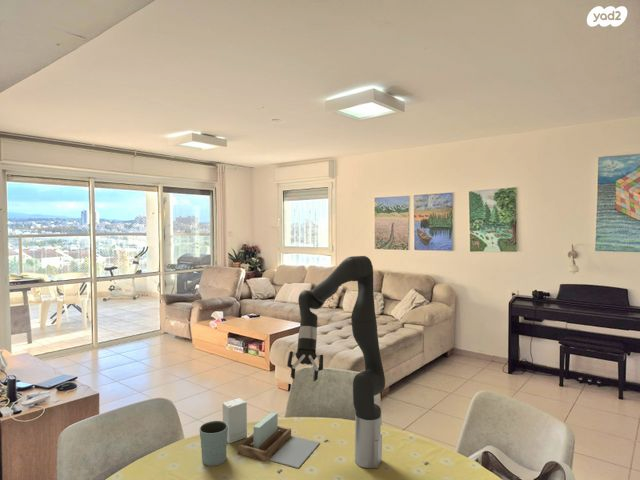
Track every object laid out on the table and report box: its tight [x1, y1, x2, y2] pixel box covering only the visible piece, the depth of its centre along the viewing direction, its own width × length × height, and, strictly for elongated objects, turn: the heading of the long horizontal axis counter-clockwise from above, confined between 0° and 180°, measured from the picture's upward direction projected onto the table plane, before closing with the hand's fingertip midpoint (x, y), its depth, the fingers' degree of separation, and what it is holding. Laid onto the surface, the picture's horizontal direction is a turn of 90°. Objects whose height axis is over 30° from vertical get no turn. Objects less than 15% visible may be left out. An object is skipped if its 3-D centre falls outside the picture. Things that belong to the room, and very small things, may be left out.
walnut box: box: [237, 425, 292, 462], centre depth 161 cm, size 12×20×3 cm, turn 157°
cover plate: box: [253, 411, 279, 449], centre depth 161 cm, size 2×14×10 cm, turn 157°
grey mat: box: [268, 435, 321, 469], centre depth 156 cm, size 12×19×1 cm, turn 156°
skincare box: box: [222, 397, 248, 444], centre depth 166 cm, size 8×6×15 cm
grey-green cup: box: [199, 420, 228, 466], centre depth 151 cm, size 10×10×12 cm
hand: (303, 380), depth 162 cm, fingers open, 8 cm apart
